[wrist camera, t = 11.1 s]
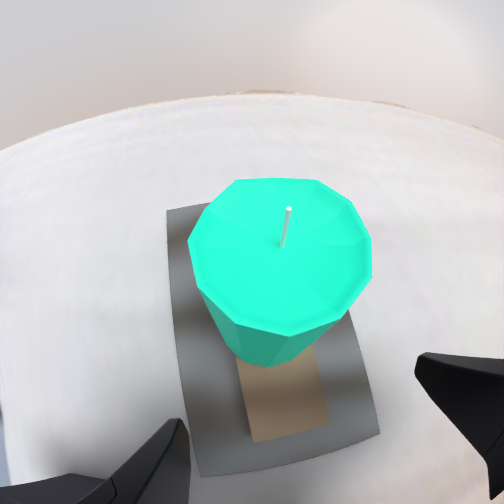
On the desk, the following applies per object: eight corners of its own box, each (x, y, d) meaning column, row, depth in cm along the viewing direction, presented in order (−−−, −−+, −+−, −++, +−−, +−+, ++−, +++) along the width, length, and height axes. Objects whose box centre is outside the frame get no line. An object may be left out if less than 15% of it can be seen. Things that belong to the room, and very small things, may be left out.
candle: (325, 304, 18) (405, 185, 8) (286, 383, 16) (353, 365, 5) (248, 267, 20) (246, 121, 9) (204, 339, 17) (132, 247, 7)
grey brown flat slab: (378, 433, 16) (398, 437, 13) (201, 475, 15) (193, 488, 12) (303, 190, 28) (308, 168, 25) (167, 212, 26) (158, 190, 23)
